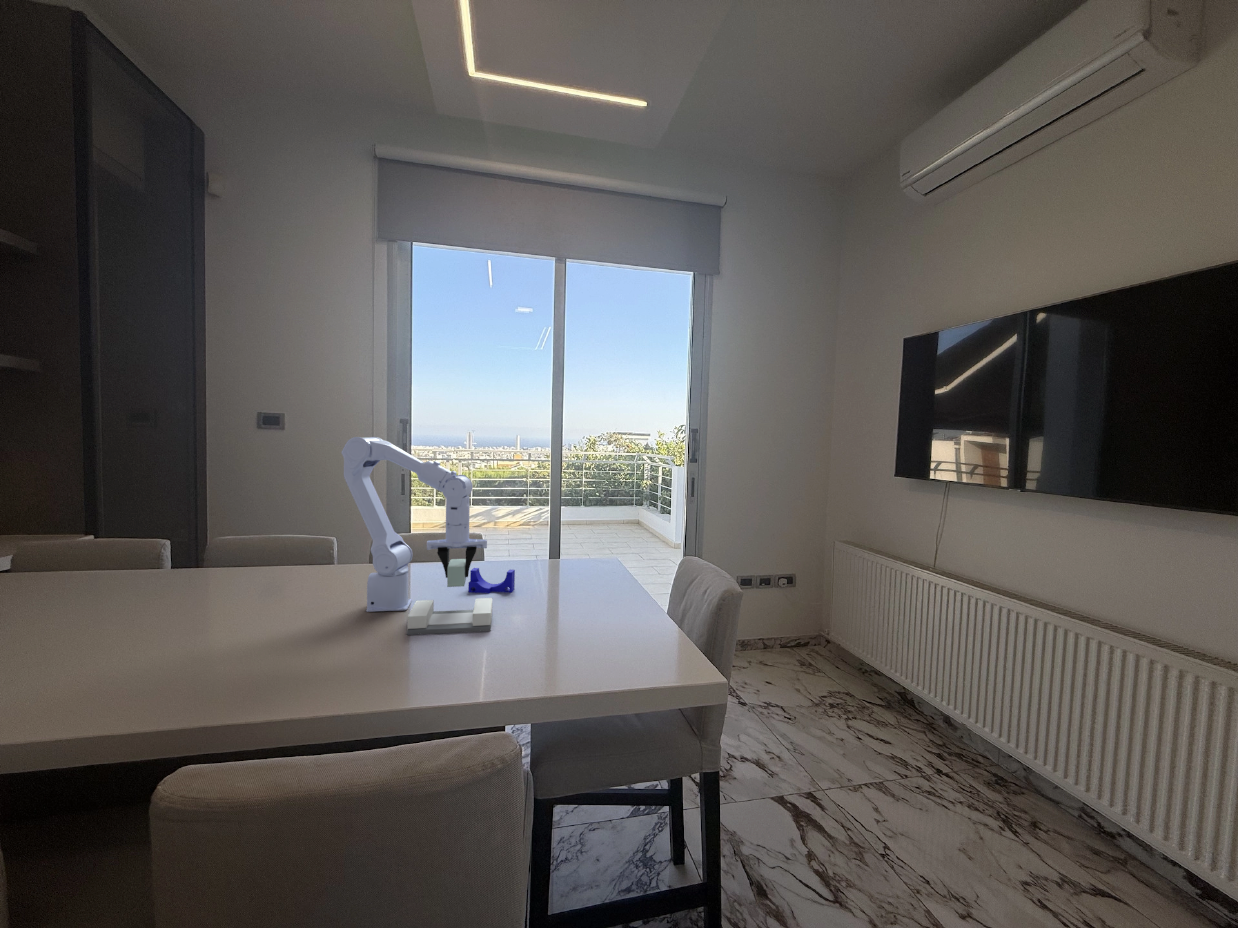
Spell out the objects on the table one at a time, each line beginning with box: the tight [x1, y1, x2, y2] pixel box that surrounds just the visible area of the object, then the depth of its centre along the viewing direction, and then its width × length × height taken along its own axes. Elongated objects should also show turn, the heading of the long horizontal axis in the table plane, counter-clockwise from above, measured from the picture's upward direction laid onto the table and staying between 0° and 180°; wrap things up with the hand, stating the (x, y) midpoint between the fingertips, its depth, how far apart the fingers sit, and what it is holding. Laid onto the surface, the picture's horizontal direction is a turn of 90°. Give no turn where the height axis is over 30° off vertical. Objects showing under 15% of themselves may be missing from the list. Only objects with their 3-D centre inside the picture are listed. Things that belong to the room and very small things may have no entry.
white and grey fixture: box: [406, 597, 493, 636], centre depth 123 cm, size 18×12×4 cm, turn 102°
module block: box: [446, 558, 467, 588], centre depth 133 cm, size 4×8×5 cm, turn 13°
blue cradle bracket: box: [467, 567, 516, 594], centre depth 149 cm, size 12×4×6 cm, turn 86°
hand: (457, 576), depth 133 cm, fingers closed on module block, 4 cm apart
